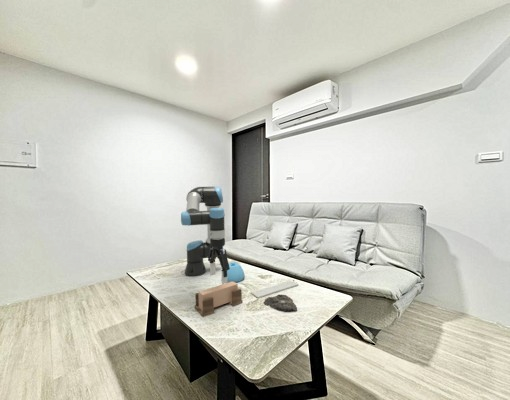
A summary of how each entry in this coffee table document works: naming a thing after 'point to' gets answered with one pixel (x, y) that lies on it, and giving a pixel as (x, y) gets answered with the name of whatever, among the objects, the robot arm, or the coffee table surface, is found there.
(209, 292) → the peach rectangular block
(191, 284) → the coffee table surface
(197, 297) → the rack
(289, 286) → the baseboard
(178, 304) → the coffee table surface
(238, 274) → the sugar bowl
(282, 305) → the dark grey rock
